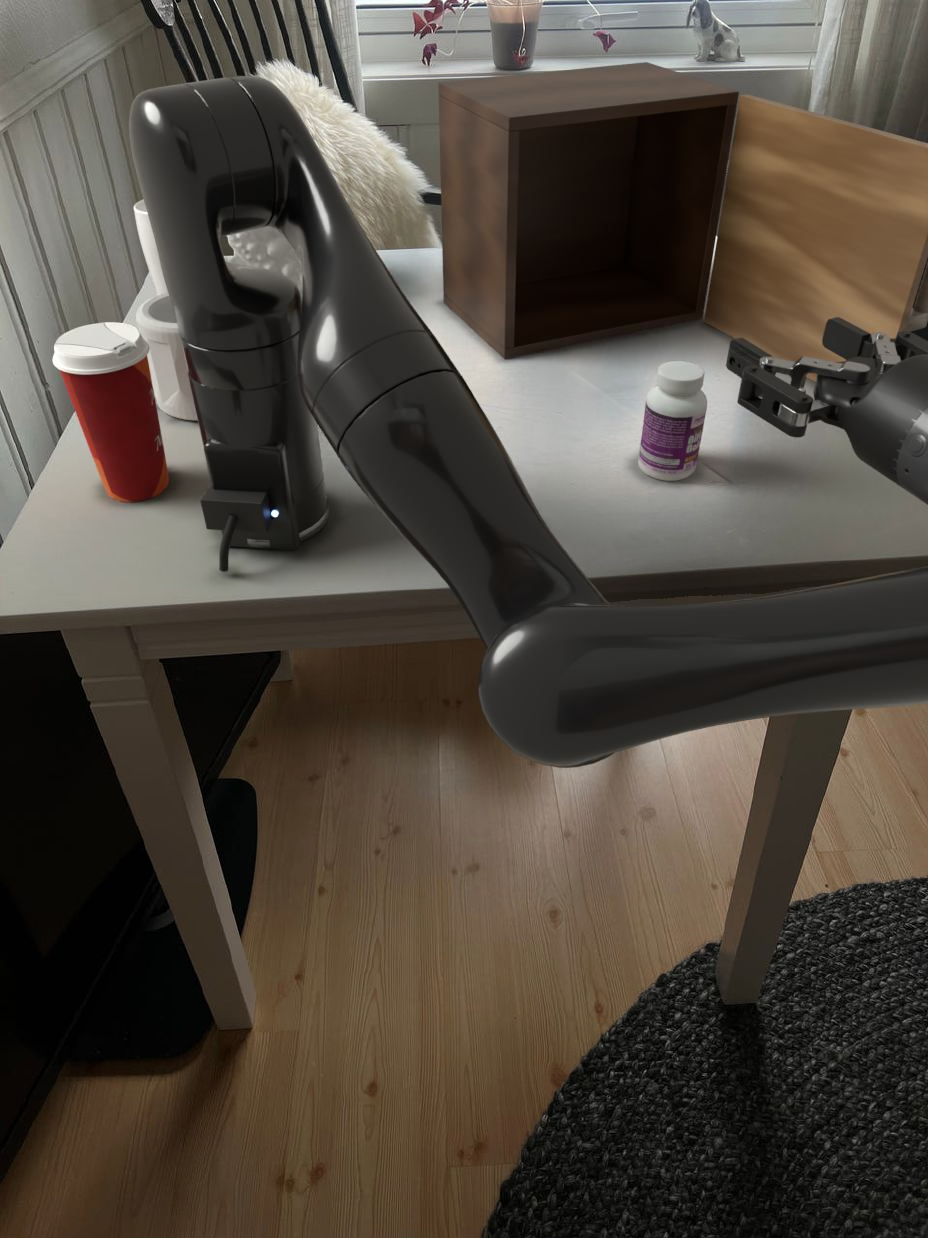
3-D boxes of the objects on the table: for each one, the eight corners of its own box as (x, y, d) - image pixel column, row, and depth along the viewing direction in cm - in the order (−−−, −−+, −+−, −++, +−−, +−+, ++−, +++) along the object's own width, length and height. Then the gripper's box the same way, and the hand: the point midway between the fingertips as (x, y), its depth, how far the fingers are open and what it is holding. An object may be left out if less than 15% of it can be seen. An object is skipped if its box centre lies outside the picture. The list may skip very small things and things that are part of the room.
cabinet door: (747, 310, 114) (789, 87, 98) (921, 398, 96) (1006, 142, 81) (703, 321, 112) (739, 94, 96) (873, 413, 94) (952, 153, 78)
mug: (282, 396, 98) (268, 303, 92) (196, 434, 92) (175, 336, 86) (207, 359, 105) (189, 270, 99) (122, 392, 99) (98, 299, 93)
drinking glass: (192, 354, 106) (164, 217, 97) (150, 341, 109) (118, 206, 99) (233, 333, 111) (210, 199, 101) (191, 321, 114) (165, 190, 104)
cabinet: (702, 319, 112) (739, 91, 97) (504, 359, 105) (509, 117, 89) (625, 270, 125) (646, 61, 109) (443, 302, 117) (438, 82, 102)
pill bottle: (695, 485, 84) (712, 386, 78) (635, 479, 85) (648, 381, 79) (696, 455, 88) (713, 359, 82) (639, 450, 89) (651, 354, 83)
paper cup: (198, 477, 86) (165, 331, 77) (135, 517, 81) (92, 366, 72) (139, 455, 89) (101, 312, 80) (74, 492, 84) (26, 344, 75)
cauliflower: (419, 226, 112) (264, 141, 101) (346, 374, 120) (196, 309, 109) (381, 191, 126) (243, 113, 116) (319, 325, 134) (184, 263, 124)
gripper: (841, 520, 57) (690, 406, 68) (1016, 469, 61) (846, 370, 72) (875, 407, 52) (706, 305, 63) (1062, 360, 56) (872, 273, 68)
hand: (781, 340), depth 68 cm, fingers open, 8 cm apart
